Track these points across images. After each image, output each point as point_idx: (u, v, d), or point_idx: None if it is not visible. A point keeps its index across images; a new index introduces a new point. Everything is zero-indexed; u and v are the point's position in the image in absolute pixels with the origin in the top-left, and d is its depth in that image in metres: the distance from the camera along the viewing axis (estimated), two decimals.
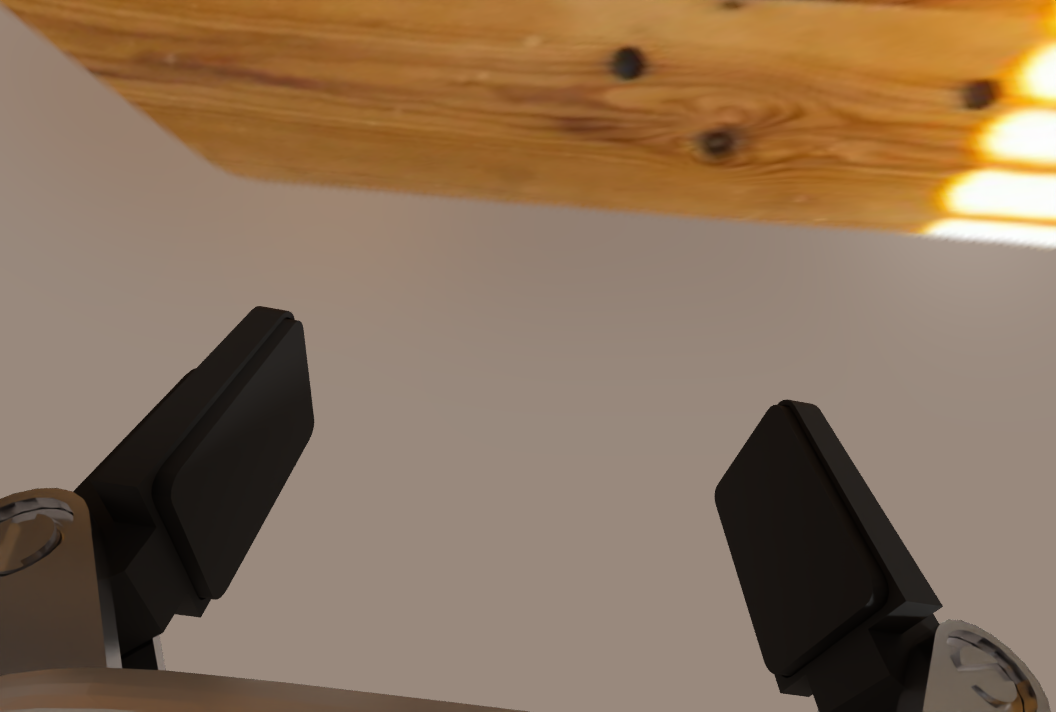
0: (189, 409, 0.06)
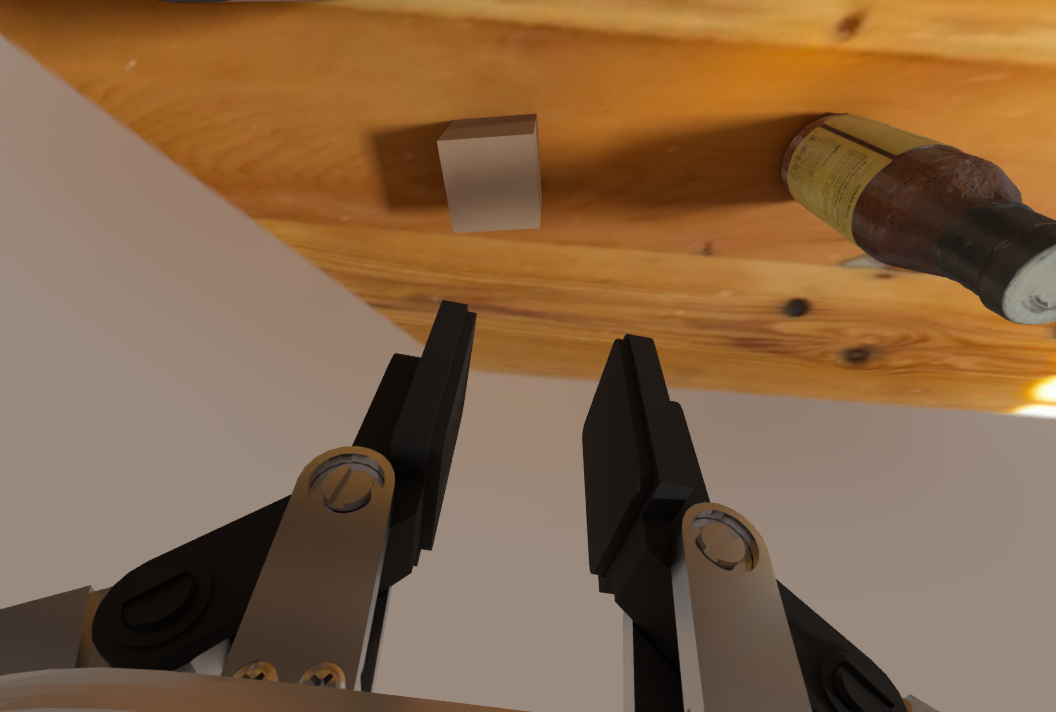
0: (434, 385, 0.08)
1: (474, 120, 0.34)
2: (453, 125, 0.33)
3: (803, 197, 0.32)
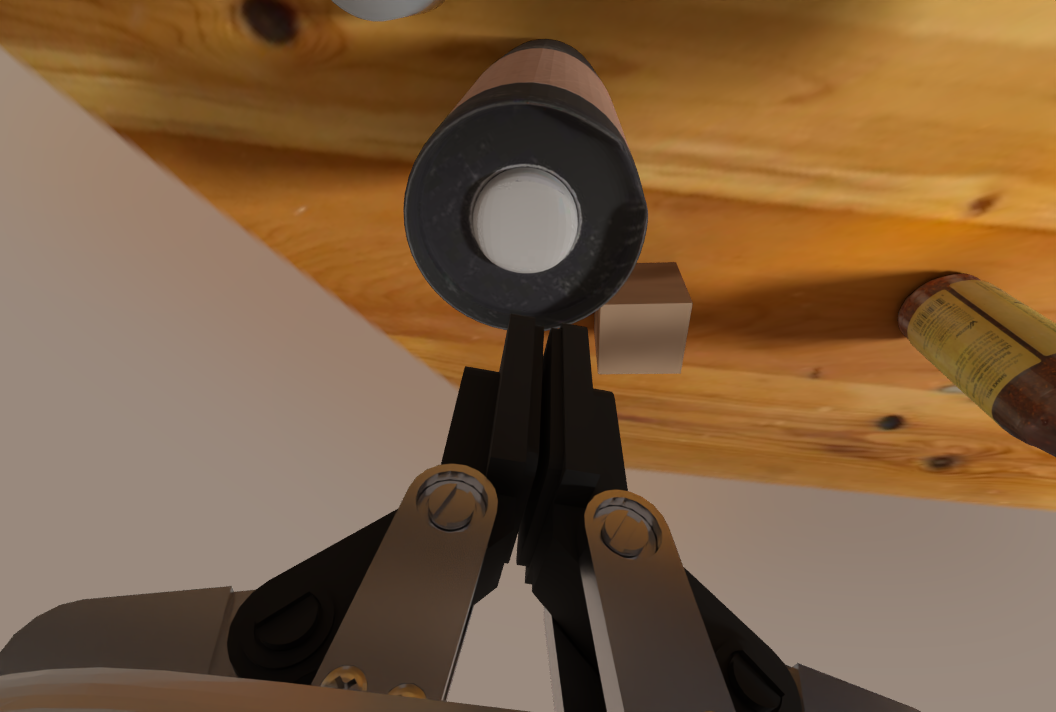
0: (519, 401, 0.08)
1: None
2: None
3: (927, 352, 0.35)
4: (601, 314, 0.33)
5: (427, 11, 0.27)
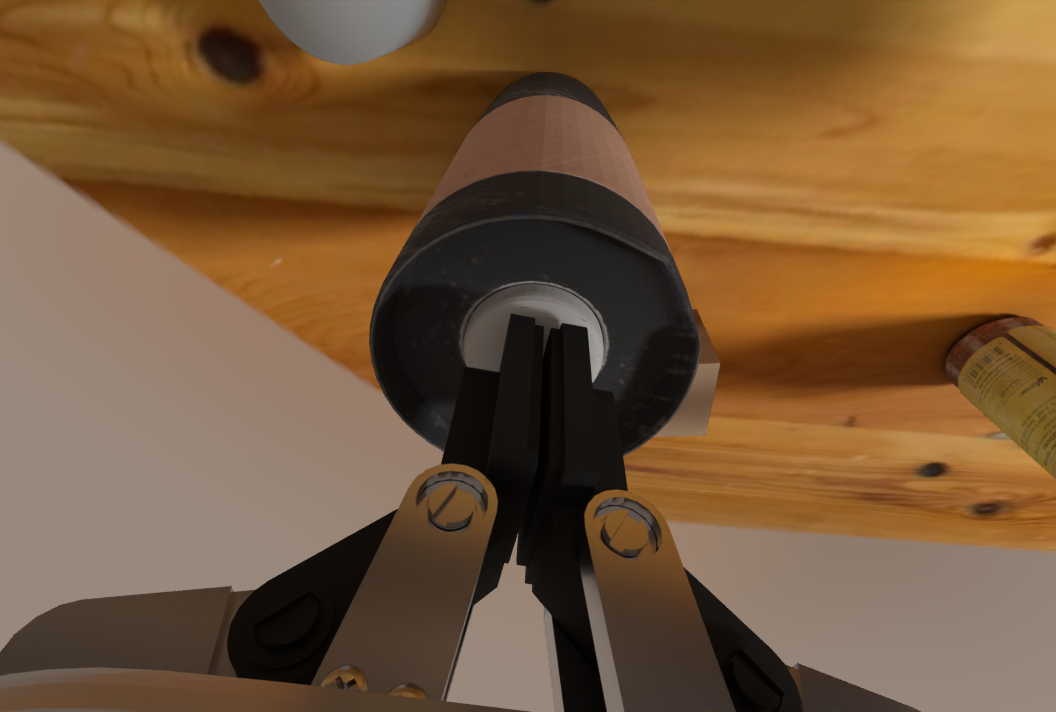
0: (520, 401, 0.08)
1: None
2: None
3: (984, 407, 0.31)
4: None
5: (410, 44, 0.24)
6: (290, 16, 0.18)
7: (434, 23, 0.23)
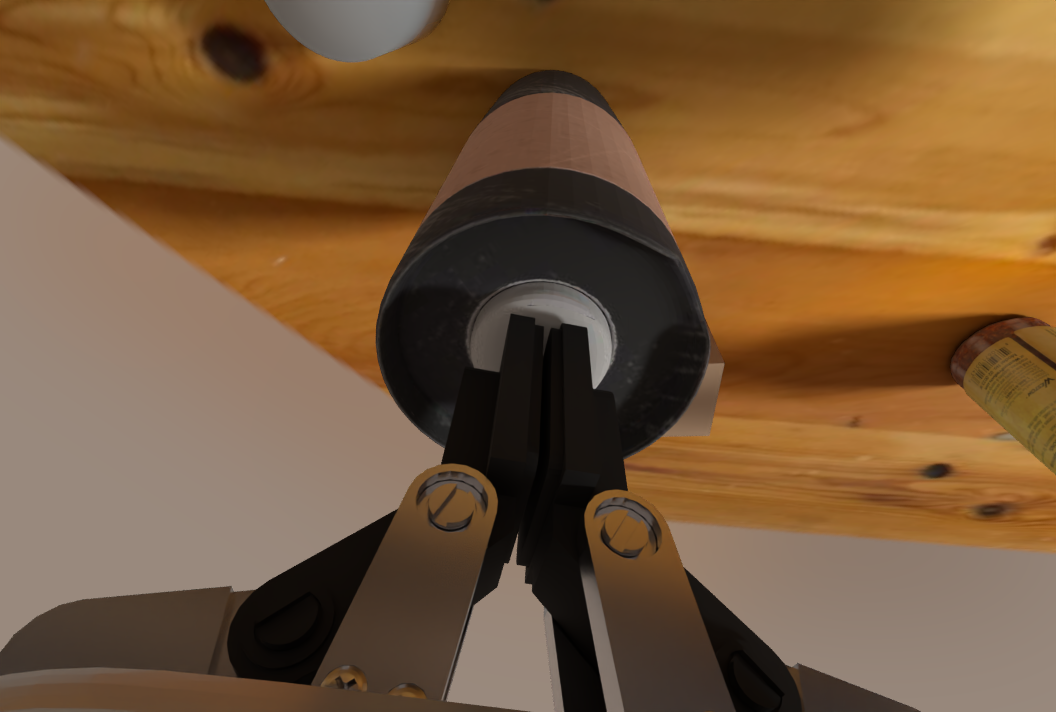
0: (520, 401, 0.08)
1: None
2: None
3: (990, 408, 0.31)
4: None
5: (414, 42, 0.23)
6: (294, 13, 0.18)
7: (438, 21, 0.23)
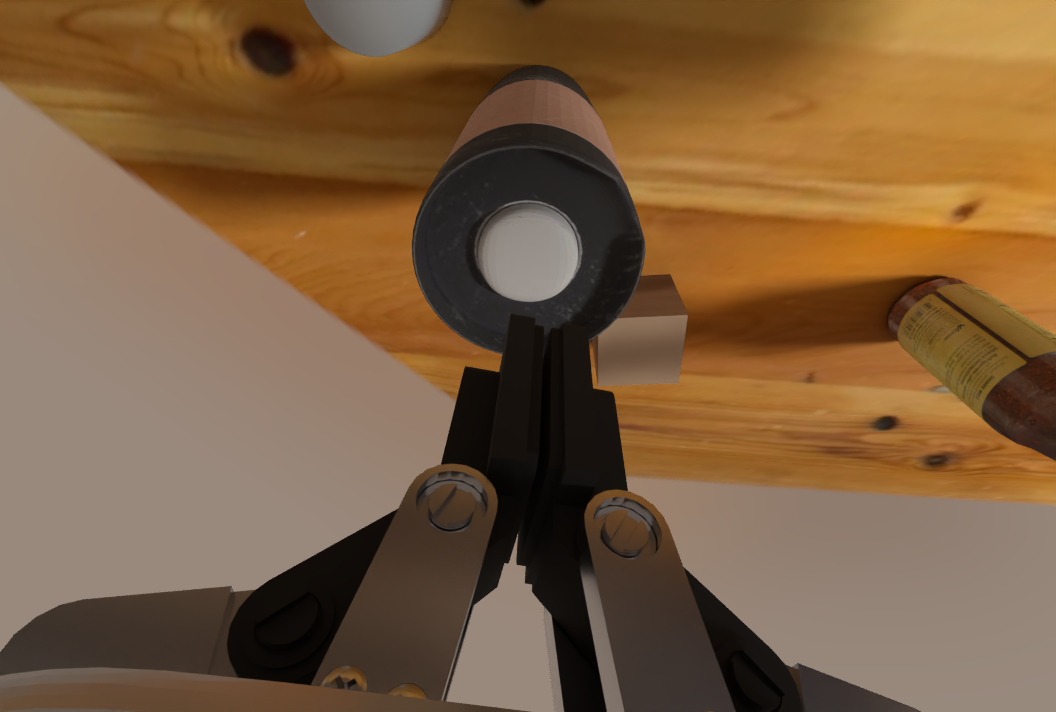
0: (519, 401, 0.08)
1: None
2: None
3: (918, 355, 0.36)
4: None
5: None
6: (330, 17, 0.23)
7: (442, 24, 0.28)
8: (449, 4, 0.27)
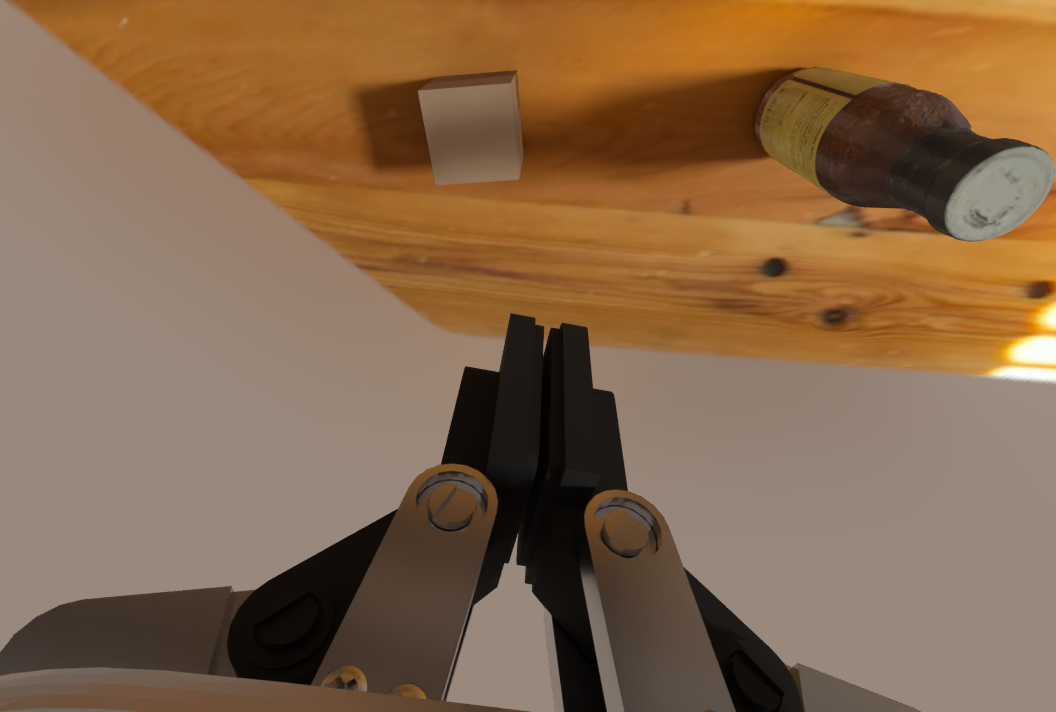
0: (520, 401, 0.08)
1: (456, 76, 0.35)
2: (435, 80, 0.34)
3: (774, 148, 0.33)
4: (421, 103, 0.31)
5: None
6: None
7: None
8: None
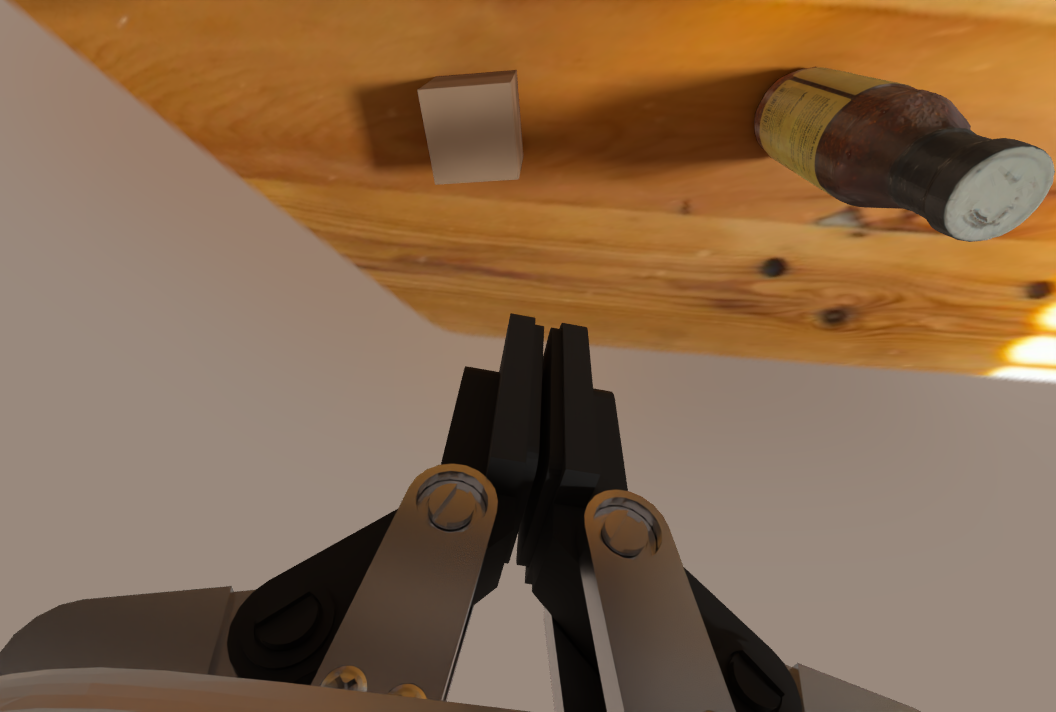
0: (520, 401, 0.08)
1: (456, 76, 0.35)
2: (435, 79, 0.34)
3: (773, 148, 0.33)
4: (420, 102, 0.31)
5: None
6: None
7: None
8: None
